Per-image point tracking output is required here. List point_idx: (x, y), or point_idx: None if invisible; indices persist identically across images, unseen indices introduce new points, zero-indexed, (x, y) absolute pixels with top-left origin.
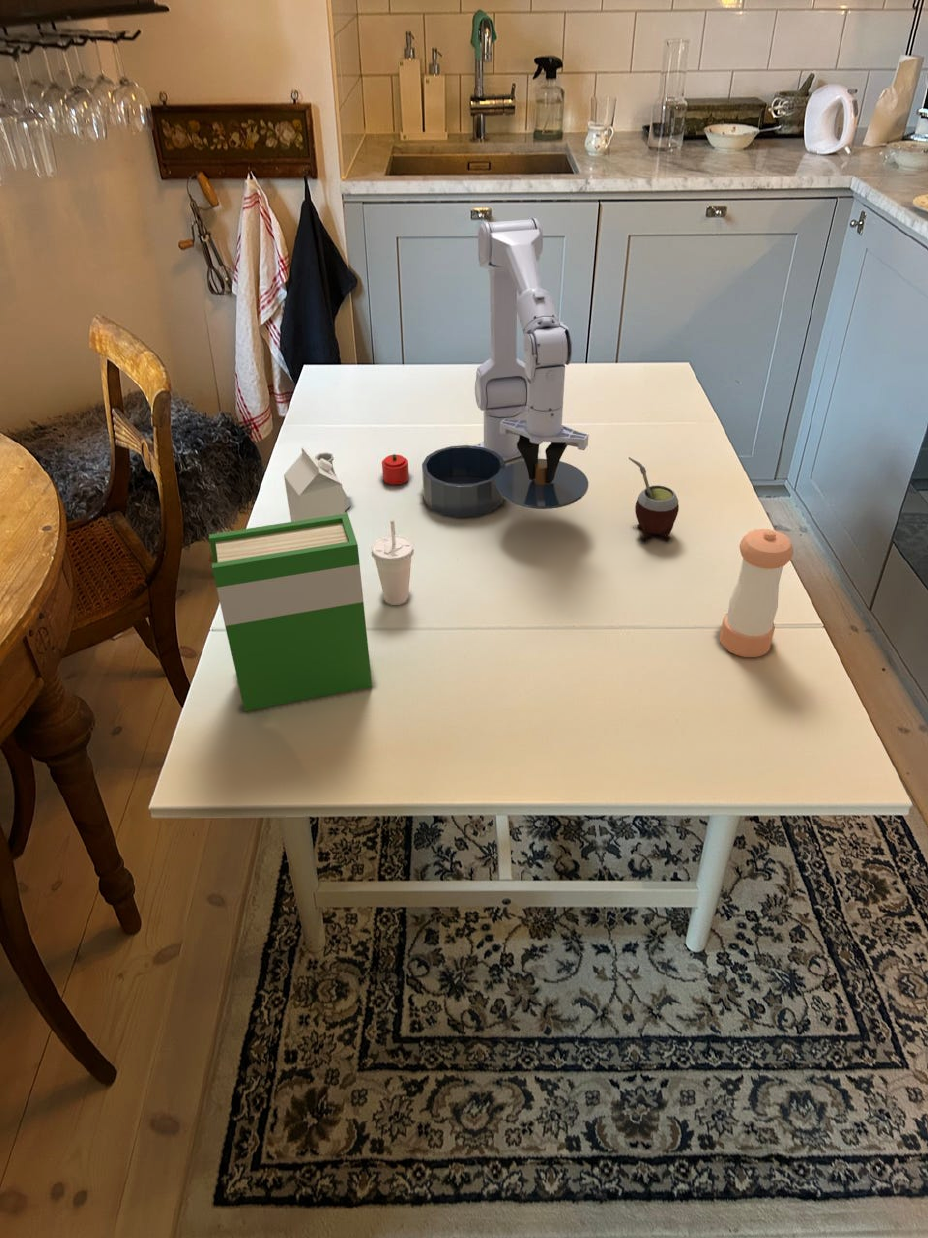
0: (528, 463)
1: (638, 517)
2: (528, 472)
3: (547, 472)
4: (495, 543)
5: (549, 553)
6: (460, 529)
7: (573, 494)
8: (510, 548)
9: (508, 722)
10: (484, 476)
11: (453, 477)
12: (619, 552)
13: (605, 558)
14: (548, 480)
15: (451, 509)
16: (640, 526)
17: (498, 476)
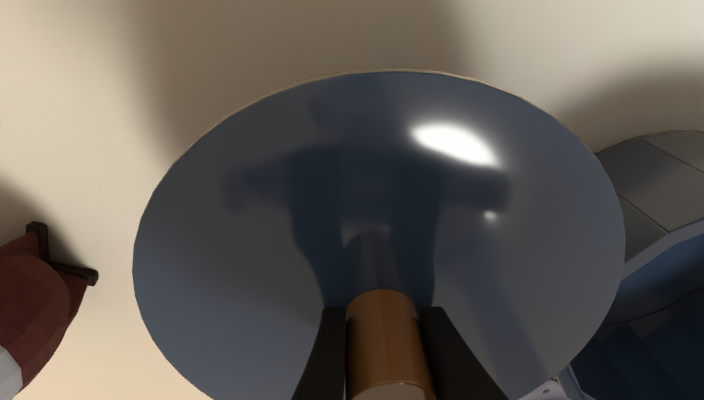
0: (483, 397)
1: (10, 281)
2: (459, 337)
3: (335, 362)
4: (485, 25)
5: (267, 40)
6: (633, 66)
7: (177, 273)
8: (420, 13)
9: None
10: None
11: (664, 305)
12: (58, 142)
13: (73, 90)
14: (330, 319)
15: (692, 141)
16: (83, 276)
17: (606, 286)
